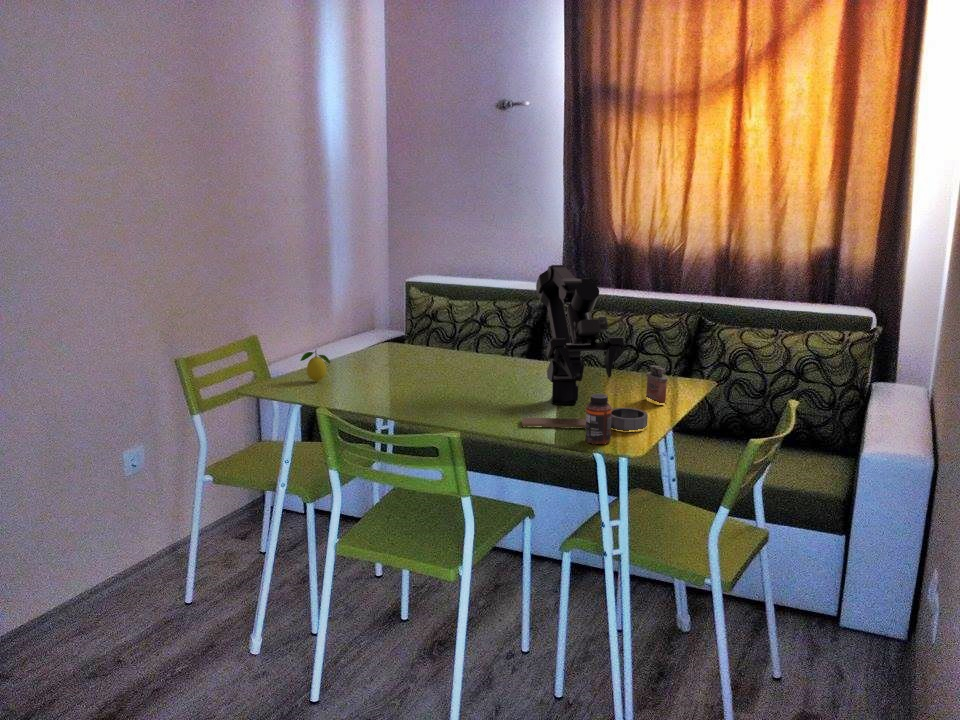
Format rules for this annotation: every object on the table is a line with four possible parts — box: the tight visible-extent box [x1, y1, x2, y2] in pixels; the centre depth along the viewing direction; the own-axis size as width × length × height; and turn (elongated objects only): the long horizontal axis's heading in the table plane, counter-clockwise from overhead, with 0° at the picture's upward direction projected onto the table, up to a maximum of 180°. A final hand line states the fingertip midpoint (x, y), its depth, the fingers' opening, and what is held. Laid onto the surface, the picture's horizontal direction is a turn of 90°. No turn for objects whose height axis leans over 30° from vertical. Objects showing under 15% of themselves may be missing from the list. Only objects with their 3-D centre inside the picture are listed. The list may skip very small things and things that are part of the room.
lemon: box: [299, 350, 331, 383], centre depth 266 cm, size 7×6×10 cm
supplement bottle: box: [585, 393, 613, 445], centre depth 217 cm, size 6×6×11 cm
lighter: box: [645, 365, 669, 403], centre depth 250 cm, size 8×3×10 cm, turn 21°
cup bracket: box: [521, 407, 649, 431], centre depth 229 cm, size 31×10×4 cm, turn 87°
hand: (591, 377), depth 223 cm, fingers open, 9 cm apart
